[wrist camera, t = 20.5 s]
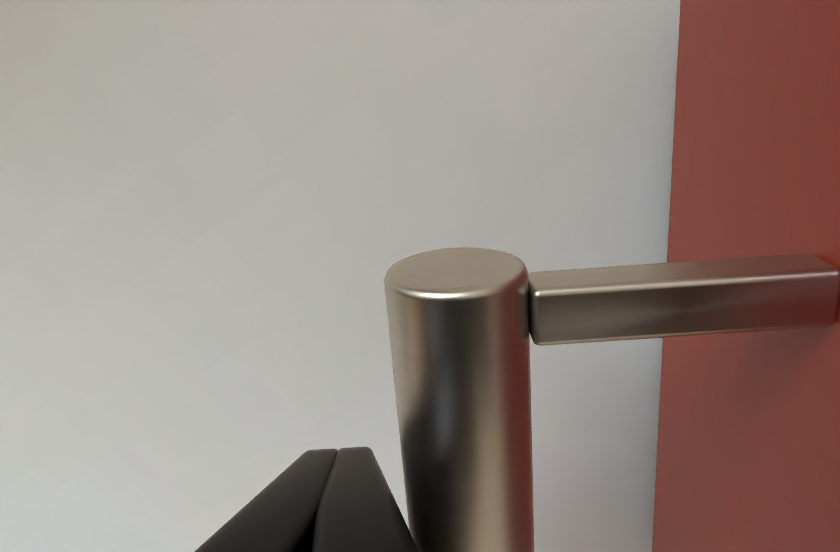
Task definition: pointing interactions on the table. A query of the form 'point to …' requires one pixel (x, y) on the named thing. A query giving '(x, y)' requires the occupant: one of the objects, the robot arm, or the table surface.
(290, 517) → the robot arm
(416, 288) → the drawer
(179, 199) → the table surface
